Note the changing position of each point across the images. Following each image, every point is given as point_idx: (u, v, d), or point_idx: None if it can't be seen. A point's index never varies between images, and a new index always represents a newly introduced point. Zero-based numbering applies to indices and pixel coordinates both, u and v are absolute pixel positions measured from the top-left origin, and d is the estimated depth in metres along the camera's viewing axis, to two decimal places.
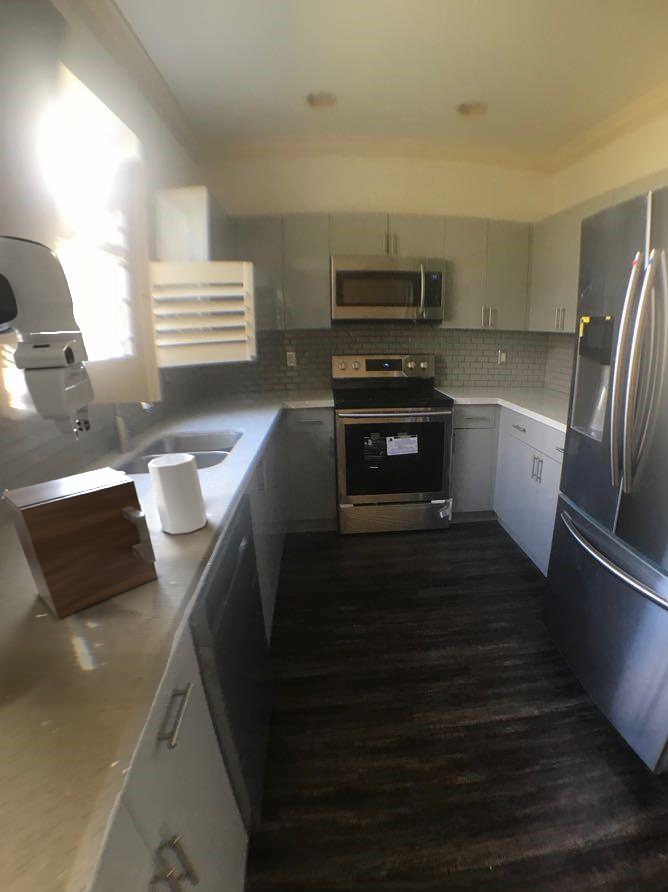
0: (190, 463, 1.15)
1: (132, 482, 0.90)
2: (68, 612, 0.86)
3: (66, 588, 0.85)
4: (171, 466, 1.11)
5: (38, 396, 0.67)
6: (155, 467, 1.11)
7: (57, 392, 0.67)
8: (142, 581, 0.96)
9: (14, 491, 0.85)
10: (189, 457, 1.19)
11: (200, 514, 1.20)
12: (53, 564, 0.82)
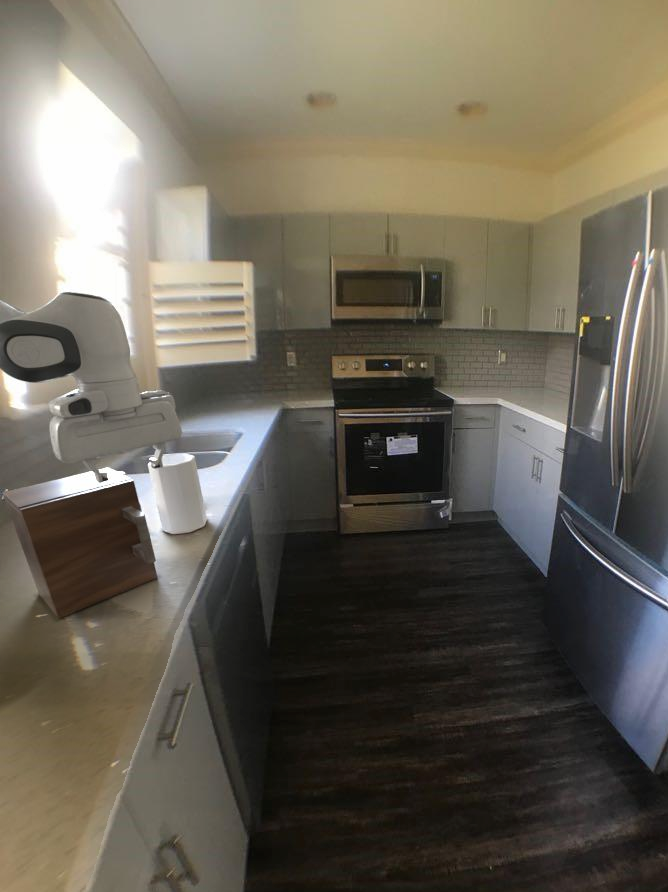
0: (190, 463, 1.15)
1: (132, 482, 0.90)
2: (68, 612, 0.86)
3: (66, 588, 0.85)
4: (171, 466, 1.11)
5: (52, 440, 0.73)
6: None
7: (56, 440, 0.72)
8: (142, 581, 0.96)
9: (14, 491, 0.85)
10: (189, 457, 1.19)
11: (200, 514, 1.20)
12: (53, 564, 0.82)
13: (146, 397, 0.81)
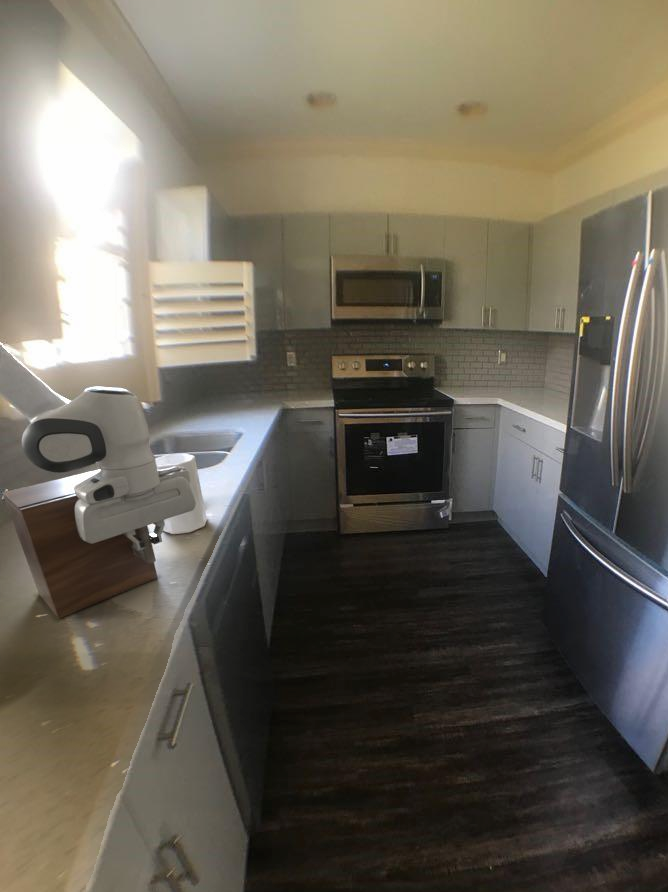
0: (190, 463, 1.15)
1: None
2: (68, 612, 0.86)
3: (66, 588, 0.85)
4: (171, 466, 1.11)
5: (77, 522, 0.79)
6: None
7: (81, 524, 0.77)
8: (142, 581, 0.96)
9: (14, 491, 0.85)
10: (189, 457, 1.19)
11: (200, 514, 1.20)
12: (53, 564, 0.82)
13: (163, 474, 0.86)
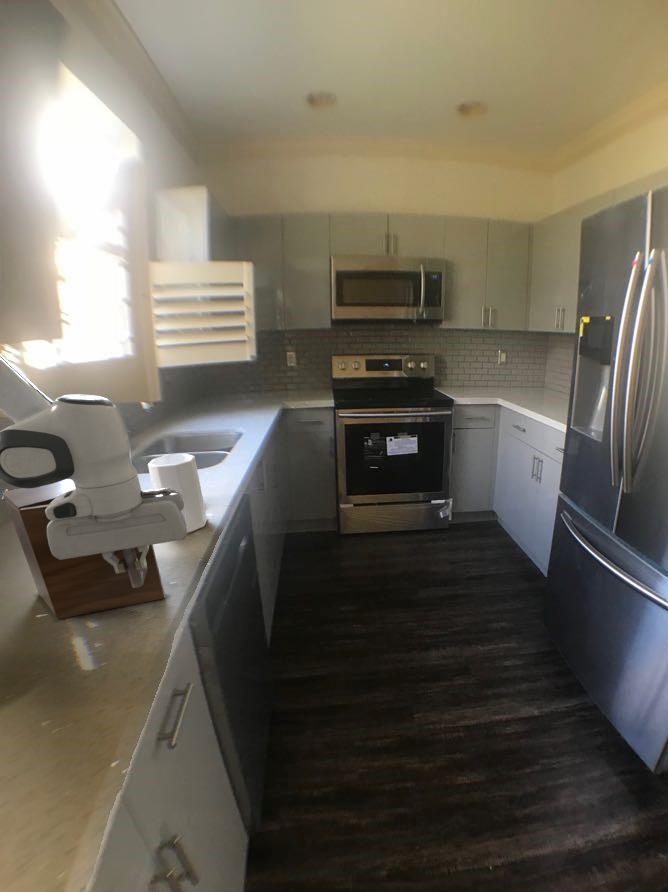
0: (190, 463, 1.15)
1: None
2: (66, 615, 0.85)
3: (64, 592, 0.84)
4: (171, 466, 1.11)
5: None
6: (155, 467, 1.11)
7: None
8: (146, 599, 0.89)
9: (14, 491, 0.85)
10: (189, 457, 1.19)
11: (200, 514, 1.20)
12: (51, 567, 0.82)
13: (148, 496, 0.76)
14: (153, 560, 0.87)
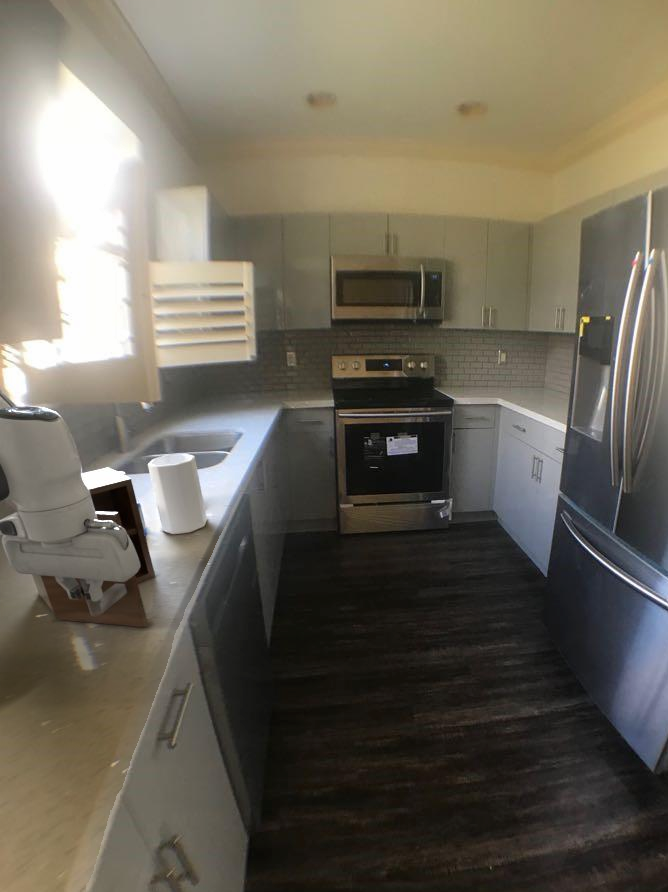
0: (190, 463, 1.15)
1: (112, 516, 0.74)
2: (63, 618, 0.85)
3: (59, 596, 0.83)
4: (171, 466, 1.11)
5: None
6: (155, 467, 1.11)
7: None
8: (128, 623, 0.82)
9: None
10: (189, 457, 1.19)
11: (200, 514, 1.20)
12: None
13: (91, 526, 0.66)
14: (132, 586, 0.79)
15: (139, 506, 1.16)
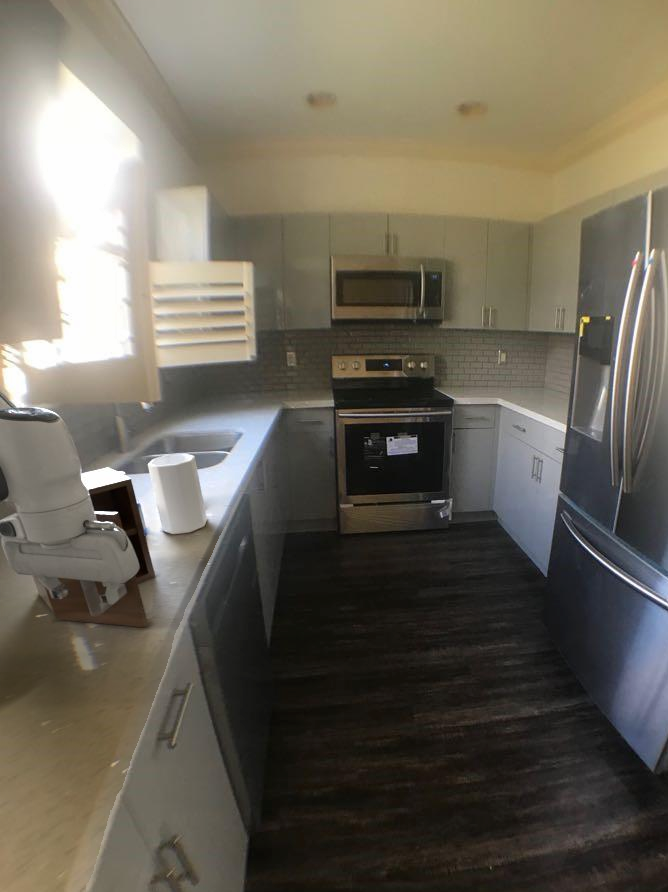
0: (190, 463, 1.15)
1: (112, 516, 0.74)
2: (63, 618, 0.85)
3: None
4: (171, 466, 1.11)
5: None
6: (155, 467, 1.11)
7: None
8: (128, 623, 0.82)
9: None
10: (189, 457, 1.19)
11: (200, 514, 1.20)
12: None
13: (90, 528, 0.66)
14: (132, 586, 0.79)
15: (139, 506, 1.16)
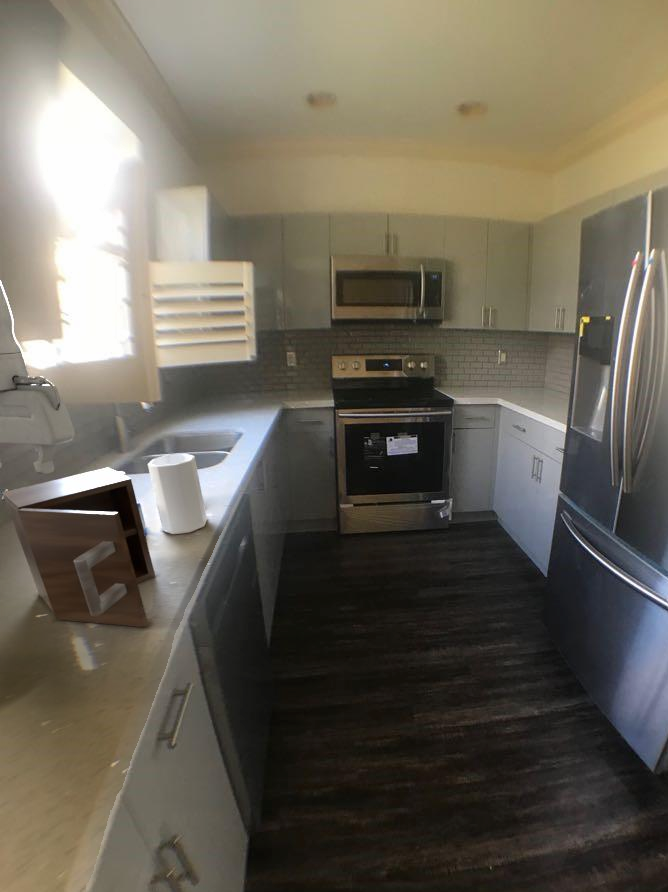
0: (190, 463, 1.15)
1: (112, 516, 0.74)
2: (63, 618, 0.85)
3: (59, 596, 0.83)
4: (171, 466, 1.11)
5: None
6: (155, 467, 1.11)
7: None
8: (128, 623, 0.82)
9: (14, 491, 0.85)
10: (189, 457, 1.19)
11: (200, 514, 1.20)
12: (47, 569, 0.81)
13: (20, 383, 0.62)
14: (132, 586, 0.79)
15: (139, 506, 1.16)
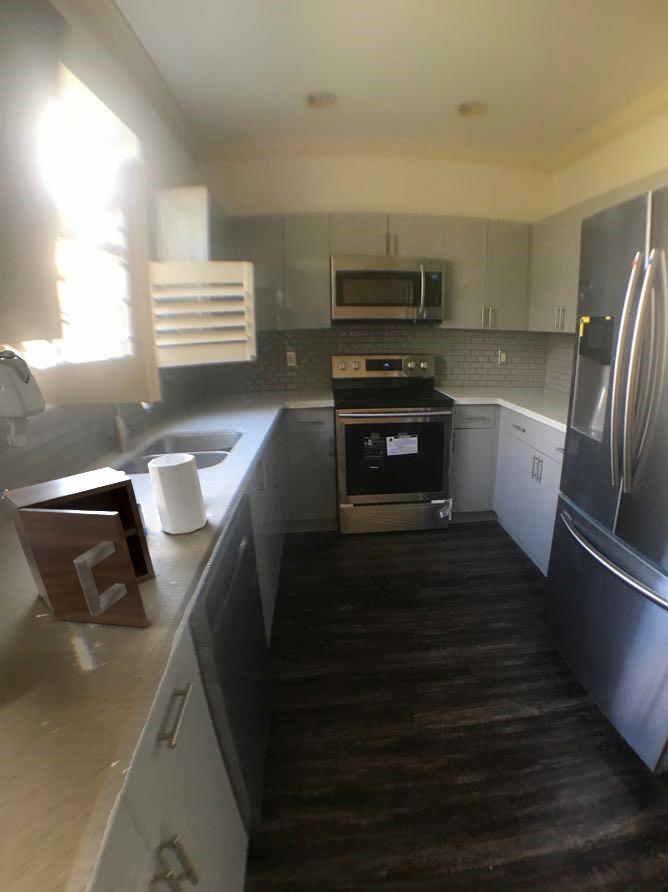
0: (190, 463, 1.15)
1: (112, 516, 0.74)
2: (63, 618, 0.85)
3: (59, 596, 0.83)
4: (171, 466, 1.11)
5: None
6: (155, 467, 1.11)
7: None
8: (128, 623, 0.82)
9: (14, 491, 0.85)
10: (189, 457, 1.19)
11: (200, 514, 1.20)
12: (47, 569, 0.81)
13: None
14: (132, 586, 0.79)
15: (139, 506, 1.16)
